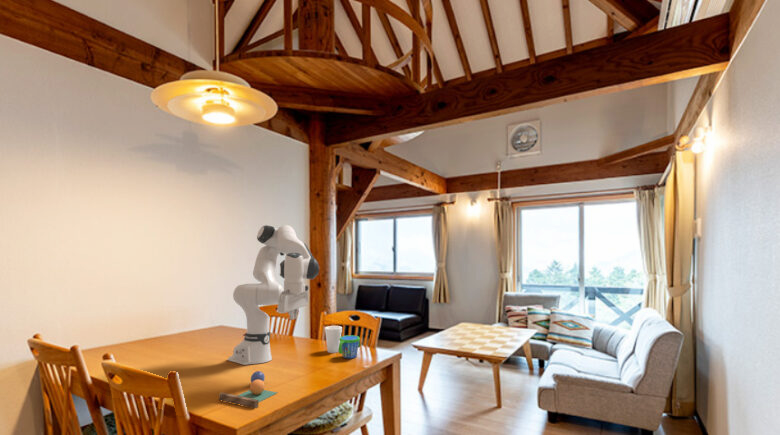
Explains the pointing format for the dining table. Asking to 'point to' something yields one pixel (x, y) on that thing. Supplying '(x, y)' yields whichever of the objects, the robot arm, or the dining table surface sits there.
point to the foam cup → (333, 338)
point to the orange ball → (257, 387)
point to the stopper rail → (238, 400)
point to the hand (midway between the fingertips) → (293, 319)
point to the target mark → (259, 397)
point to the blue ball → (257, 376)
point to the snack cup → (349, 346)
